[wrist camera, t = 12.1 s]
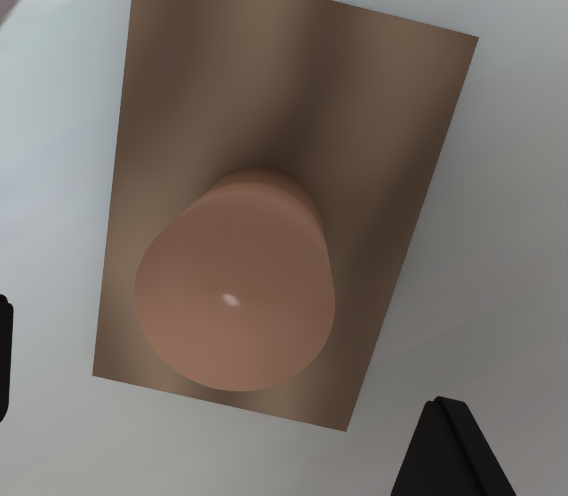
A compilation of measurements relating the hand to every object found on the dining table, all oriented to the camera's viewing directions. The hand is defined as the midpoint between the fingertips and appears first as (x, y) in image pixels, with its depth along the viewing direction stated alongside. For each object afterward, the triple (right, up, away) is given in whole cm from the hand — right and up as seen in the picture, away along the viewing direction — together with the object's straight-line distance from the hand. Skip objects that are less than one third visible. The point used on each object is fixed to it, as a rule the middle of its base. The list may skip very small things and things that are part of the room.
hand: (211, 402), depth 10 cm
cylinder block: (0, +4, +11) cm, 12 cm away
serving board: (0, +5, +12) cm, 13 cm away
